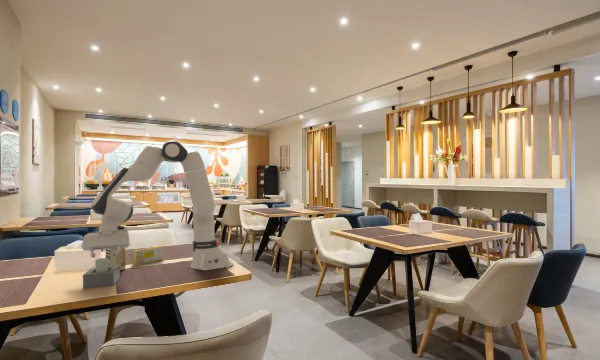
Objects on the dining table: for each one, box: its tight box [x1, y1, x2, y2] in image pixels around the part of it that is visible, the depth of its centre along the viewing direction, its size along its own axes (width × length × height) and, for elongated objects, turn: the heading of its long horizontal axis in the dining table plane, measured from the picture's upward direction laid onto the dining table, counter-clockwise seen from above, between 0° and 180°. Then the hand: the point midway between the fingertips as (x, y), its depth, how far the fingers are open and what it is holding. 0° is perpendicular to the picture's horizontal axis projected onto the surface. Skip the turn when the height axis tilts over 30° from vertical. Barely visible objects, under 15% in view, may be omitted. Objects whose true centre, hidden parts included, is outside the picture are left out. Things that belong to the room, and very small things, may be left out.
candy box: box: [131, 245, 163, 266], centre depth 187 cm, size 16×2×8 cm, turn 136°
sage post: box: [94, 257, 110, 272], centre depth 151 cm, size 4×4×10 cm
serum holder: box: [82, 265, 121, 289], centre depth 151 cm, size 12×12×6 cm
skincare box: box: [109, 248, 126, 271], centre depth 172 cm, size 6×4×12 cm
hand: (104, 255), depth 153 cm, fingers open, 8 cm apart
